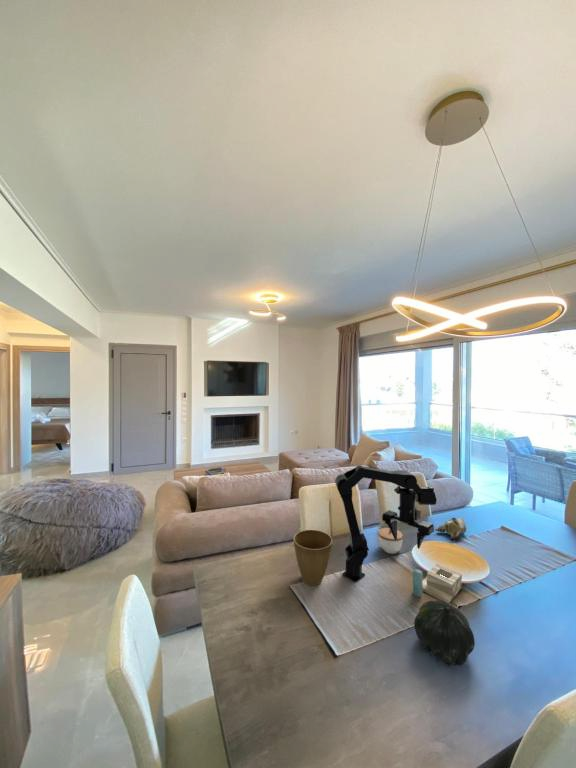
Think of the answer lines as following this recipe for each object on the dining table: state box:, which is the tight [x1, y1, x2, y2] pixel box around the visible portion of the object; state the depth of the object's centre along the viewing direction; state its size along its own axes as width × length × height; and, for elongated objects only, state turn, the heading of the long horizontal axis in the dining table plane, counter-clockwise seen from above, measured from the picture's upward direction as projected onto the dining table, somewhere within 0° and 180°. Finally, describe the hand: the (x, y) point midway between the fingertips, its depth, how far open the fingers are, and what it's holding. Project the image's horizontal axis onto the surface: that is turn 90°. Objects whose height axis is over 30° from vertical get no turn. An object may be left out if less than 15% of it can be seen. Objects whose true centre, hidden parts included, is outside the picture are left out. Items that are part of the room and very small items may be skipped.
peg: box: [412, 568, 423, 598], centre depth 112 cm, size 3×3×8 cm
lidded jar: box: [377, 527, 404, 555], centre depth 142 cm, size 11×11×9 cm
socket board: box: [422, 564, 463, 604], centre depth 115 cm, size 12×11×5 cm
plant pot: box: [293, 529, 333, 586], centre depth 120 cm, size 15×15×16 cm
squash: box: [413, 600, 476, 667], centre depth 88 cm, size 14×15×15 cm
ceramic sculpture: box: [434, 517, 467, 539], centre depth 157 cm, size 11×9×15 cm
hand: (407, 543), depth 122 cm, fingers open, 9 cm apart
